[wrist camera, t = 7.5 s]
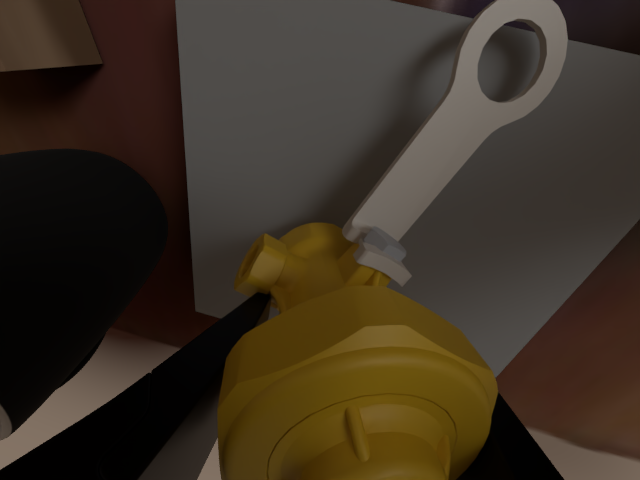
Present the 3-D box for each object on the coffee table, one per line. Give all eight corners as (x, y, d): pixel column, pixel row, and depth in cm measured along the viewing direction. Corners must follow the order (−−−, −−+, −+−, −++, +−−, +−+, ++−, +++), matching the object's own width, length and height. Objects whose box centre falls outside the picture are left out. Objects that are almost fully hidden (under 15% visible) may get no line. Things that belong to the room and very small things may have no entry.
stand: (691, 74, 10) (763, 82, 8) (471, 356, 18) (481, 393, 16) (211, -32, 11) (172, -48, 9) (214, 284, 19) (195, 311, 17)
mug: (13, 106, 15) (-461, 186, 7) (185, 146, 14) (-98, 291, 6) (79, 284, 22) (-115, 436, 13) (199, 317, 21) (73, 497, 13)
